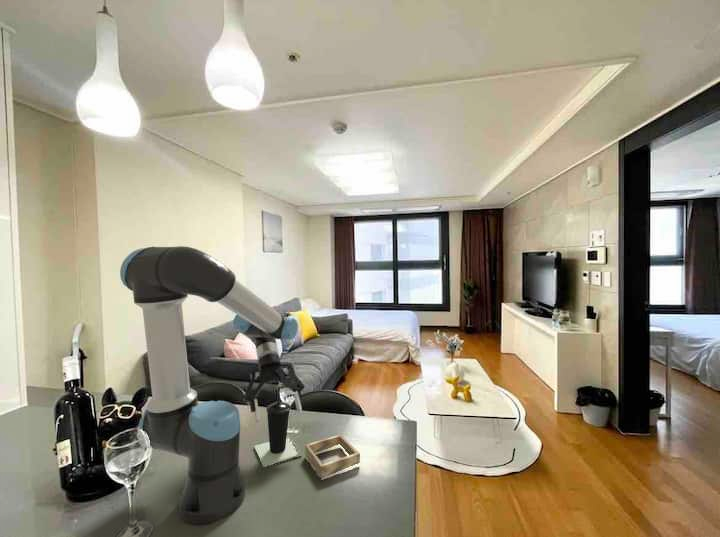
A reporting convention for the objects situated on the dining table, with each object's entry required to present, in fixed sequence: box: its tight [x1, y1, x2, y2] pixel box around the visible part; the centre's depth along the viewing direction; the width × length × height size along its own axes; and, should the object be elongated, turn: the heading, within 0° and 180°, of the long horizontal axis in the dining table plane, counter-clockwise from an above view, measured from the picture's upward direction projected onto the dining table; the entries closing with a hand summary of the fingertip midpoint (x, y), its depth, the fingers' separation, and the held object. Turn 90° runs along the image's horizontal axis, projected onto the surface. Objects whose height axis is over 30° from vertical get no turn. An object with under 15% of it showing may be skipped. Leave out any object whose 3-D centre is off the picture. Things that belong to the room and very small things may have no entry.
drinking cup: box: [265, 387, 292, 454], centre depth 100 cm, size 8×8×20 cm
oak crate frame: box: [304, 434, 361, 479], centre depth 94 cm, size 13×13×4 cm
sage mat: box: [253, 436, 298, 466], centre depth 99 cm, size 12×12×1 cm
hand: (279, 416), depth 98 cm, fingers open, 13 cm apart
